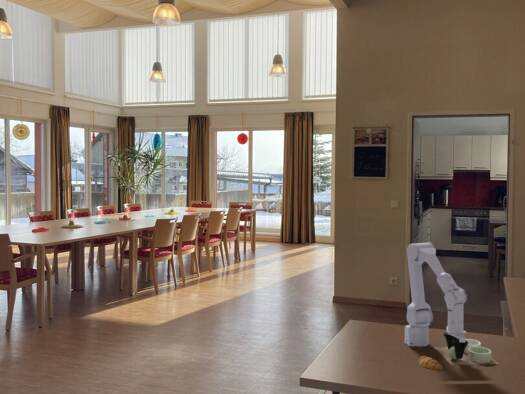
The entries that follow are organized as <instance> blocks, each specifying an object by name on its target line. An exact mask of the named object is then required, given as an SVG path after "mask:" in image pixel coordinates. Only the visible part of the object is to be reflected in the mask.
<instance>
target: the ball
mask: <svg viewBox="0 0 525 394" xmlns="http://www.w3.org/2000/svg"><path fill="white" fill-rule="evenodd" d="M448 353H449V356H450V357H451V358H452V359H454V360H458V359H457V358H456V355H455V348H454V346H453V347H451V348H450V349H449V351H448Z"/></svg>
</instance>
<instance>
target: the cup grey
mask: <svg viewBox="0 0 525 394" xmlns="http://www.w3.org/2000/svg"><path fill="white" fill-rule="evenodd" d="M465 341H468V345H467V346H466V348H465V350H464V353H467V354H468V348H469V347H482V343H481V342H480V341H479V340H478V339H477V340H476V339H472V338H465Z"/></svg>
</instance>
